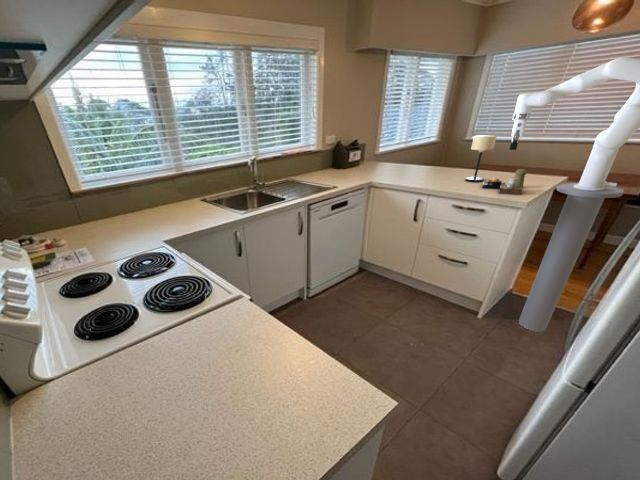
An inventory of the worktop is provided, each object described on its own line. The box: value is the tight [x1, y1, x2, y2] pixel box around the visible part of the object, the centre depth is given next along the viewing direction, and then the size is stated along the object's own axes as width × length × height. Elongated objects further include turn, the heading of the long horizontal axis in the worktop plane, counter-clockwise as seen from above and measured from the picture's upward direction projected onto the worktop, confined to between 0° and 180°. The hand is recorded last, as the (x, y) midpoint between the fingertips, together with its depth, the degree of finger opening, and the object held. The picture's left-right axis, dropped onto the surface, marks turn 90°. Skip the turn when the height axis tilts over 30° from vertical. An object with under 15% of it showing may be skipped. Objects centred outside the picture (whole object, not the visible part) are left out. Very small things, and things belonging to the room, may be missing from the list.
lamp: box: [465, 134, 498, 183], centre depth 199 cm, size 12×12×29 cm
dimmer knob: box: [506, 176, 518, 188], centre depth 173 cm, size 4×4×6 cm
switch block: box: [482, 179, 506, 190], centre depth 187 cm, size 11×9×4 cm
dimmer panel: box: [498, 184, 523, 196], centre depth 175 cm, size 10×9×3 cm
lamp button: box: [491, 177, 500, 182], centre depth 186 cm, size 4×4×2 cm
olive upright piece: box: [514, 168, 528, 189], centre depth 181 cm, size 6×6×11 cm
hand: (512, 149), depth 182 cm, fingers closed
